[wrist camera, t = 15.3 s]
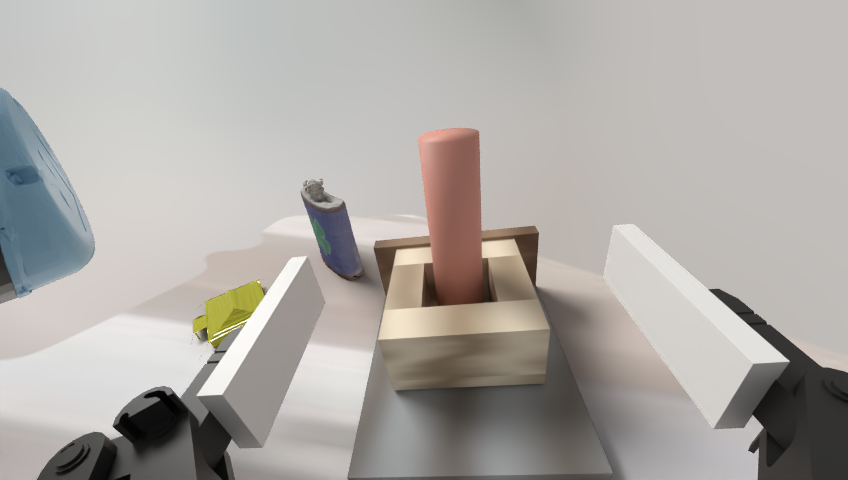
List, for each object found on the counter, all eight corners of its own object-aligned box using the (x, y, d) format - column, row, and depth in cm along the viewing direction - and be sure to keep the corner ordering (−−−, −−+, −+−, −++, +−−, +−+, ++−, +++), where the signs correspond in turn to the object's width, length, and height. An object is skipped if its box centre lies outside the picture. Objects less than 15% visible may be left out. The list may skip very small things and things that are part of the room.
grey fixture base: (351, 485, 18) (317, 422, 15) (389, 295, 32) (375, 240, 28) (610, 482, 17) (635, 411, 13) (531, 284, 30) (534, 225, 27)
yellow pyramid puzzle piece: (294, 325, 31) (284, 304, 30) (188, 379, 27) (170, 357, 26) (274, 279, 38) (265, 260, 37) (188, 316, 35) (174, 296, 33)
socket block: (393, 390, 21) (378, 339, 19) (406, 292, 30) (396, 248, 27) (544, 383, 20) (550, 329, 18) (513, 284, 29) (514, 238, 26)
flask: (368, 273, 36) (343, 184, 30) (345, 285, 34) (314, 194, 29) (336, 244, 42) (310, 167, 37) (315, 254, 41) (285, 175, 36)
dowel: (438, 332, 24) (415, 145, 17) (439, 300, 27) (420, 131, 20) (485, 330, 23) (482, 139, 16) (481, 299, 26) (476, 125, 19)
